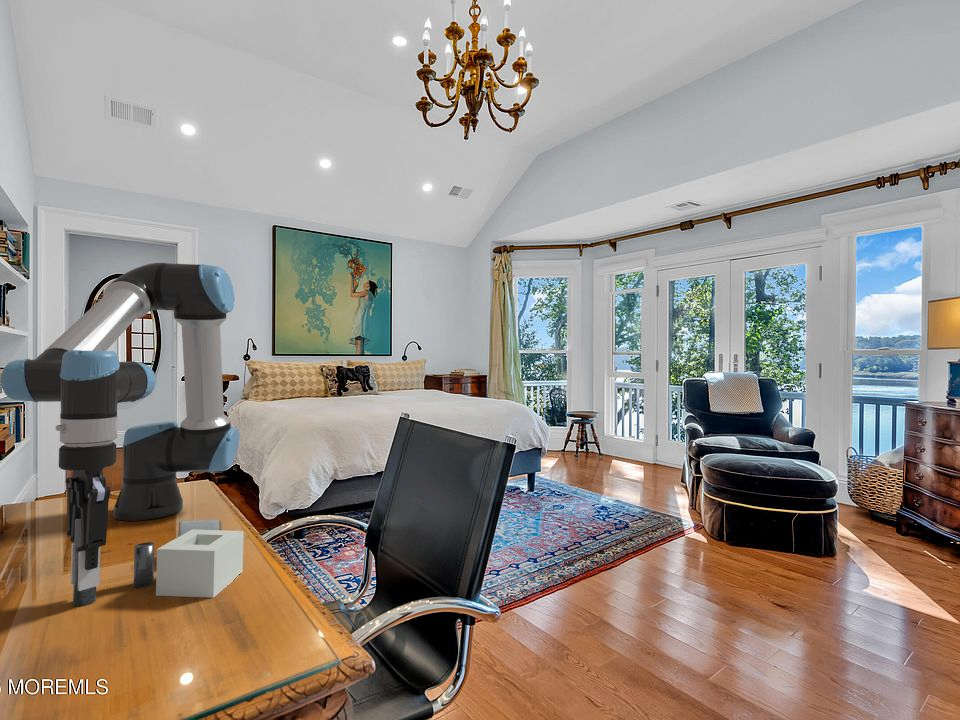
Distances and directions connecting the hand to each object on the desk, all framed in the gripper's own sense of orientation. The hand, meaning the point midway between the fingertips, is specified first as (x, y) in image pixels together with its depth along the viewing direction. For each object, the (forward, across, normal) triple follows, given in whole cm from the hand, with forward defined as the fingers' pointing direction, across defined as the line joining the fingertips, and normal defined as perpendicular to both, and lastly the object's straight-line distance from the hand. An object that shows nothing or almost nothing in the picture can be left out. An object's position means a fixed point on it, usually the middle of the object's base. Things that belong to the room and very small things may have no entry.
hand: (84, 583), depth 83 cm
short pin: (+3, 0, +9) cm, 9 cm away
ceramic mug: (+3, -7, +21) cm, 22 cm away
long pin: (+3, 0, 0) cm, 3 cm away
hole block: (+3, +8, +15) cm, 17 cm away
